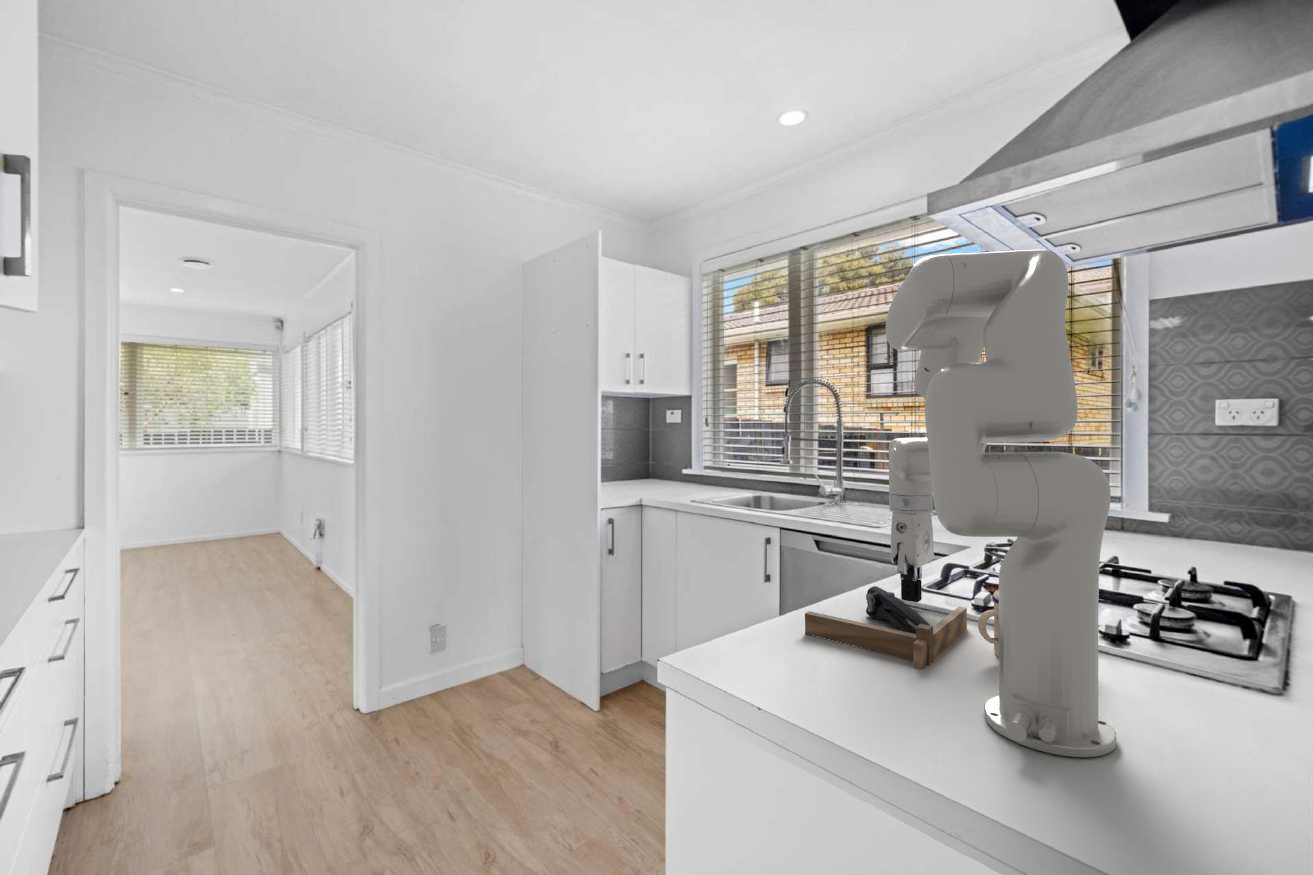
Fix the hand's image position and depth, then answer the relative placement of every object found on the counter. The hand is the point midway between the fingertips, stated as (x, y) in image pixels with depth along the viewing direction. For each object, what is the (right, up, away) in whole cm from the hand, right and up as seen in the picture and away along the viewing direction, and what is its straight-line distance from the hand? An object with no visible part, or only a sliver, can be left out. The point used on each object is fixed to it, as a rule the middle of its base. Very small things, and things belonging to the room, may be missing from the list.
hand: (911, 600), depth 113 cm
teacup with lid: (+5, -2, -24) cm, 25 cm away
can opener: (-7, -2, -10) cm, 12 cm away
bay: (-11, -2, -13) cm, 17 cm away
